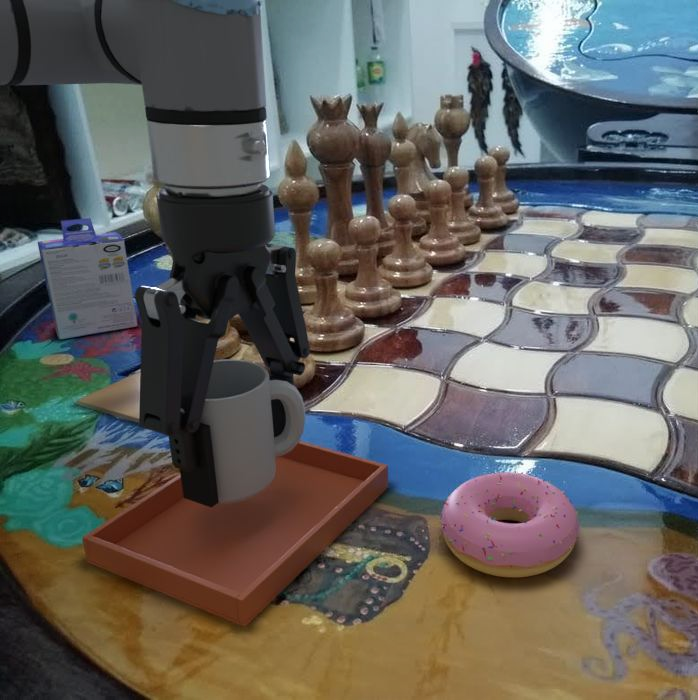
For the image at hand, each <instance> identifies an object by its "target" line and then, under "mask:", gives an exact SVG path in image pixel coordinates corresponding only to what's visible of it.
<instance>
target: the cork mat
mask: <svg viewBox="0 0 698 700" xmlns="http://www.w3.org/2000/svg"><path fill="white" fill-rule="evenodd" d="M76 404H77V406H80V407H82V408H86V409H89V410H93V411H96V412H100V413H103V414H107V415H110V416H113V417H116V418H120V419H124V420H127V421H129V422H133V423H137V424H140V423H139V409H140V370H139V371H137V372H135V373H133V374H131V375H129V376H126V377H124V378H122V379H120V380H117V381H116V382H113V383H111V384H109V385H107V386H105V387H103V388H100V389H97V390H95V391H93V392H92V393H89V394H87V395H85V396H83V397H80V398H78V399H76Z"/></svg>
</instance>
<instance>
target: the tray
mask: <svg viewBox="0 0 698 700" xmlns="http://www.w3.org/2000/svg"><path fill="white" fill-rule="evenodd" d="M388 488H389V465H388V464H386V463H382V462H377V461H374V460H371V459H367V458H363V457H359V456H356V455H353V454H350V453H346V452H342V451H338V450H335V449H331V448H328V447H325V446H320V445H317V444H313V443H310V442H307V441H303V440H300V441H299V443H298V444H297V445H296V446H295V447H294V448H293V449H292V450H291V451H290V452H288V453H286V454H284V455H282V456H278V457H276V472H275V477H274V478H273V480H272V482H271V483H270V484H269V486H268V487H267V488H266V489H265V490H263V491H262V492H261V493H259V494H257V495H255V496H253V497H252V498H249V499H246V500H243V501H239V502H234V503H226V504H216V505H215V506H213V507H212V508H211V507H208V506H205V505H202V504H200V503H197V502H194V501H191V500H188V499H185V498H184V497H183V490H182V483H181V476H180V473H179V474H178V475H176V476H174V477H173V478H171V479H170V480H168V481H167V482H166V483H164V484H162V485H160V486H159V487H158V488H156V489H155V490H153V491H151V492H150V493H148V494H147V495H145V496H144V497H141V499H139V500H137V501H136V502H134V503H132V504H131V505H130V506H128V507H127V508H125V509H123V510H122V511H119V513H118V514H116V515H114V516H113V517H111V518H110V519H108V520H106V521H105V522H103V523H102V524H100V525H99V526H97V527H96V528H94V529H92V530H91V531H90V532H88V533H86V534H85V535H83V536H82V537H81V539H82V544H83V549H84V554H85V558H86V563H87V564H90V565H93V566H96V567H97V568H100V569H103V570H104V571H107V572H110V573H113V574H115V575H117V576H120V577H122V578H125V579H127V580H129V581H132V582H134V583H137V584H138V585H141V586H144V587H146V588H149V589H151V590H154V591H156V592H159V593H161V594H163V595H165V596H168V597H170V598H173V599H175V600H178V601H181V602H183V603H186V604H188V605H190V606H193V607H195V608H197V609H199V610H203V611H205V612H207V613H209V614H212V615H214V616H216V617H219V618H222V619H224V620H227V621H229V622H231V623H234V624H237V625H239V626H242V627H244V628H246V627H247V626H249V624H250V623H251V622H253V620H254V619H255V618H257V616H258V615H259V614H260V613H262V611H264V610H265V609H266V608H267V607H268V605H269V604H271V603H272V602H273V600H275V599H276V597H278V596H279V595H280V594H281V593H282V592H283V591H284V590H285V589H286V588H287V587H288V586H289V585H290V584H291V583H292V582H293V581H294V580H296V578H297V577H298V576H299V575H301V573H302V572H304V570H306V568H307V567H309V565H310V564H312V562H313V561H315V560H316V558H318V557H319V556H320V555H321V554H322V553H323V552H324V551H325V550H326V549H327V548H328V547H329V546H331V544H332V543H333V542H334V541H335V540H336V539H337V538H338V537H339V536H340V535H341V534H342V533H343V532H344V531H345V530H346V529H347V528H348V527H349V526H351V524H352V523H353V522H354V521H356V520H357V518H358V517H360V515H362V514H363V513H364V511H366V510H367V508H369V507H370V506H371V505H372V504H373V503H374V502H375V501H376V500H377V499H378V498H379V497H380V496H381V495H382V494H383V493H384V492H385V491H386V490H387V489H388Z"/></svg>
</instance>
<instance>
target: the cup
mask: <svg viewBox="0 0 698 700" xmlns="http://www.w3.org/2000/svg"><path fill="white" fill-rule="evenodd" d="M268 371H269V370H268V369H266V367H264V366H263V365H262V364H259V363H257V362H253V361H250V360H246V359H234V358H232V359H230V358H228V359H214V362H213V367H212V371H211V376H210V380H209V385H208V389H207V394H206V398H205V403H204V408H203V412H202V417H201V421H200V423H203V424H206V425H209V426H210V431H211V440H212V448H213V457H214V466H215V474H216V483H217V491H218V500H219V503H217V504H226V503H234V502H239V501H243V500H246V499H249V498H252V497H253V496H255V495H257V494H259V493H261V492H262V491H263V490H265V489H266V488H267V487H268V486H269V484H270V483H271V482H272V480H273V478H274V477H275V472H276V457H278V456H282V455H284V454H286V453H288V452H290V451H291V450H292V449H293V448H294V447H295V446H296V445H297V444H298V443H299V441H301V438H302V436H303V433H304V430H305V424H306V407H305V402H304V399H303V396H302V394H301V393H300V391H299V390H298V388H297V387H296V386H295V385H294V386H293V385H292V384H290V383H288V382H287V381H281V380H270V381H269V374H268ZM274 399H280V401H281V402H282V404H283V406H284V409H285V413H286V425H285V428H284V431H283V432H282V433H281V435H279V436H277V437H274V432H273V419H272V408H271V400H274ZM180 412H184V410H183V409H181V410H180Z"/></svg>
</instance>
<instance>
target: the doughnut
mask: <svg viewBox="0 0 698 700" xmlns="http://www.w3.org/2000/svg"><path fill="white" fill-rule="evenodd" d="M552 483H553V481H550V480H548V481H546V480H545V479H542V478H540V477H536V476H534V475H531V474H530V473H529V474H525V473H524V472H523V471H522V472H517V470H514V472H507V471H505V472H502V471H501V472H500V471H497V472H495V471H493V472H491V473H486V474H480V475H477V476H476V477H473V478H471V479H468V480H467V481H464V482H463V483H461V484H458V485H456V486H457V487H456V488H455V489H454V490H453V492H449V495H448V497H447V496H446V497H445V501H443V502H442V503H443V506H442V509H441V515H440V517H439V521H438V523H439V524H440V528H441V531H442V534H443V538H444V541H445V543H446V545H447V546H448V548H449V550H450V552H451V553H452V554H454V556H455V557H457V558H458V560H460V561H461V562H462V563H464V564H465V565H466V566H468V567H470V568H472V569H473V570H476V571H478V572H481V573H484V574H486V575H491V576H495V577H502V578H525V577H532V576H536V575H540V574H543V573H546V572H548V571H550V570H552V569H555V567H557V566H559V565H560V564H561V563H562V562H564V561H565V560H566V558H568V557H569V555H570V554H571V552H572V550H573V549H574V546H575V544H576V541H577V540H578V539H579V533H580V522H579V517H578V514H579V511H578V510H577V511H576V509H575V506H574V505H573V503H572V501H571V500H570V499H569V498H568V496H567V495H566V492H565V490H561V489H560V488H558V487H557V486H556V485H554V484H552ZM503 521H515V522H518V523H508V522H503Z"/></svg>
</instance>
